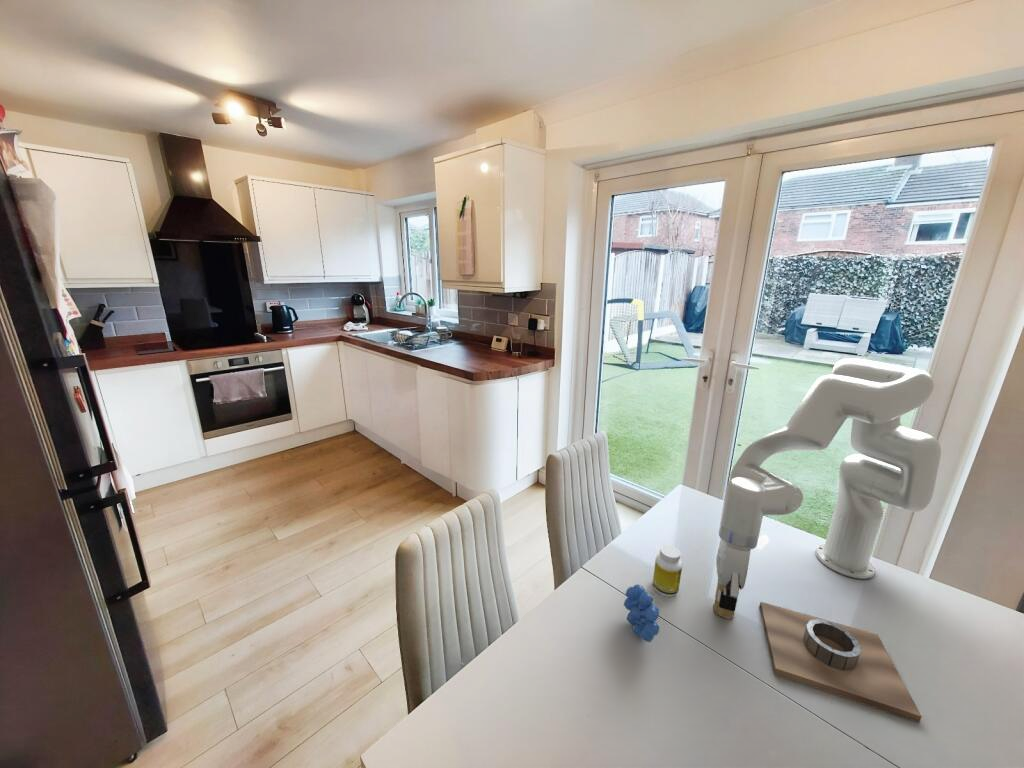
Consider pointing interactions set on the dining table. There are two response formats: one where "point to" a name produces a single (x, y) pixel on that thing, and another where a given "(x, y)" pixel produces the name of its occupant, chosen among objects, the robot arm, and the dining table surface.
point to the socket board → (863, 684)
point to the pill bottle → (667, 571)
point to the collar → (825, 652)
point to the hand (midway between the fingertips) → (725, 599)
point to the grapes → (642, 612)
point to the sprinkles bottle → (716, 607)
